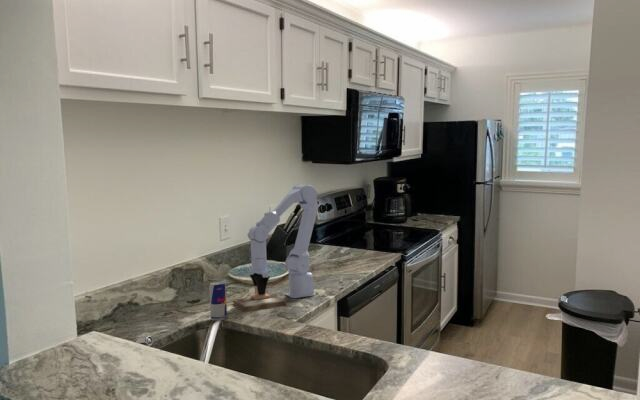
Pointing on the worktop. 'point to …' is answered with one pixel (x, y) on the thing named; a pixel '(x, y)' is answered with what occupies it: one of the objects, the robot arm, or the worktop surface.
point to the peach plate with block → (257, 296)
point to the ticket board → (259, 303)
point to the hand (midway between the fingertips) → (260, 293)
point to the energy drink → (218, 301)
